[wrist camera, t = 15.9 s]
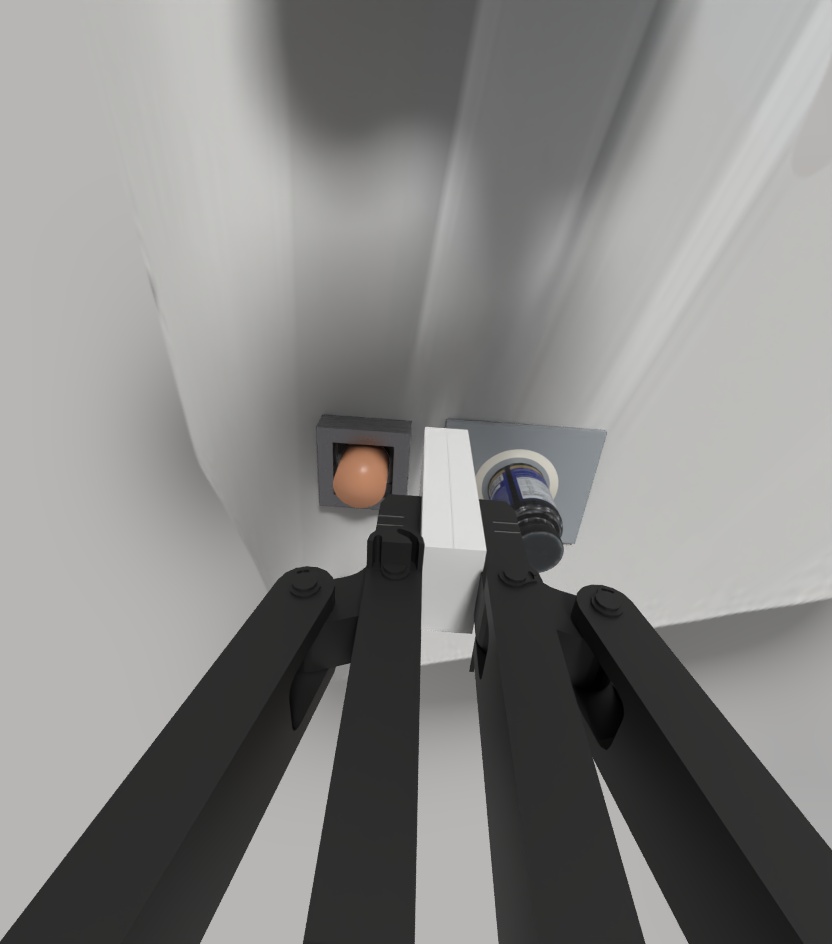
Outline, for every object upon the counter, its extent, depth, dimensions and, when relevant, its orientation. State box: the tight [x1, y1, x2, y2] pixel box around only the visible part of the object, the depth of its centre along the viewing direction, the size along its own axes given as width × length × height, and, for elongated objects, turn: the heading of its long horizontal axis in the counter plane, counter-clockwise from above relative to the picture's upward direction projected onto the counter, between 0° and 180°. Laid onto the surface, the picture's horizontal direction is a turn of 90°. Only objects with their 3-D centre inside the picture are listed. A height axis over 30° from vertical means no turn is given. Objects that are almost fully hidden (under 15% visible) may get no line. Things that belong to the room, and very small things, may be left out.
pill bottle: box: [488, 463, 564, 573], centre depth 46 cm, size 6×6×11 cm
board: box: [446, 419, 607, 544], centre depth 51 cm, size 14×16×1 cm
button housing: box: [316, 415, 412, 510], centre depth 49 cm, size 9×9×3 cm
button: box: [333, 444, 390, 508], centre depth 48 cm, size 5×5×5 cm
